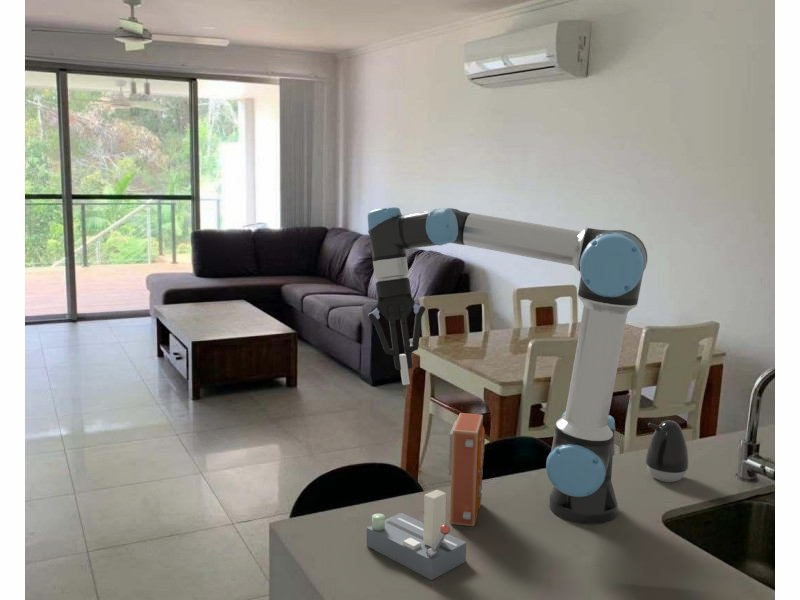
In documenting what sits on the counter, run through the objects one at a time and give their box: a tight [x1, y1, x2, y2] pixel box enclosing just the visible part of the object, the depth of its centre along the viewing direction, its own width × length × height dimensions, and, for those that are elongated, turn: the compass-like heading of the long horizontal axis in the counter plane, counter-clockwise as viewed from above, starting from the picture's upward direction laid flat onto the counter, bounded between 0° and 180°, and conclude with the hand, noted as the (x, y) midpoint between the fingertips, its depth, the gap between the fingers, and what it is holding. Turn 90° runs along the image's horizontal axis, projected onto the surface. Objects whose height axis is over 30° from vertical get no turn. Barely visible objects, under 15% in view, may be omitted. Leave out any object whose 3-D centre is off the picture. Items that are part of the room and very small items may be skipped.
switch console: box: [366, 512, 467, 581], centre depth 149 cm, size 18×10×5 cm, turn 45°
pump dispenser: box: [645, 420, 689, 483], centre depth 188 cm, size 10×10×15 cm
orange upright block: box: [447, 412, 486, 527], centre depth 166 cm, size 21×7×15 cm
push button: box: [371, 513, 386, 531], centre depth 150 cm, size 3×3×2 cm
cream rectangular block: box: [423, 489, 447, 547], centre depth 144 cm, size 2×4×10 cm, turn 135°
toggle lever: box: [426, 524, 451, 557], centre depth 139 cm, size 2×2×8 cm
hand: (406, 383), depth 165 cm, fingers closed
